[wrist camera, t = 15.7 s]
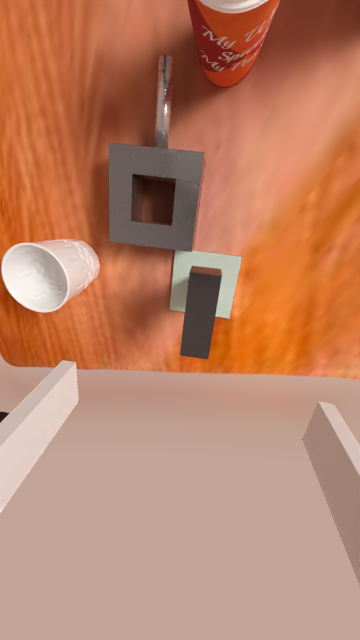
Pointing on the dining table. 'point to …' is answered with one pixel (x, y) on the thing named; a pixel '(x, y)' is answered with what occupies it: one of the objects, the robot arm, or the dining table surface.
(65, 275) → the white cup
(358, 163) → the dining table surface
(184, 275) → the mat
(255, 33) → the coffee cup
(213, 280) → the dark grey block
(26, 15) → the dining table surface
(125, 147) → the block
